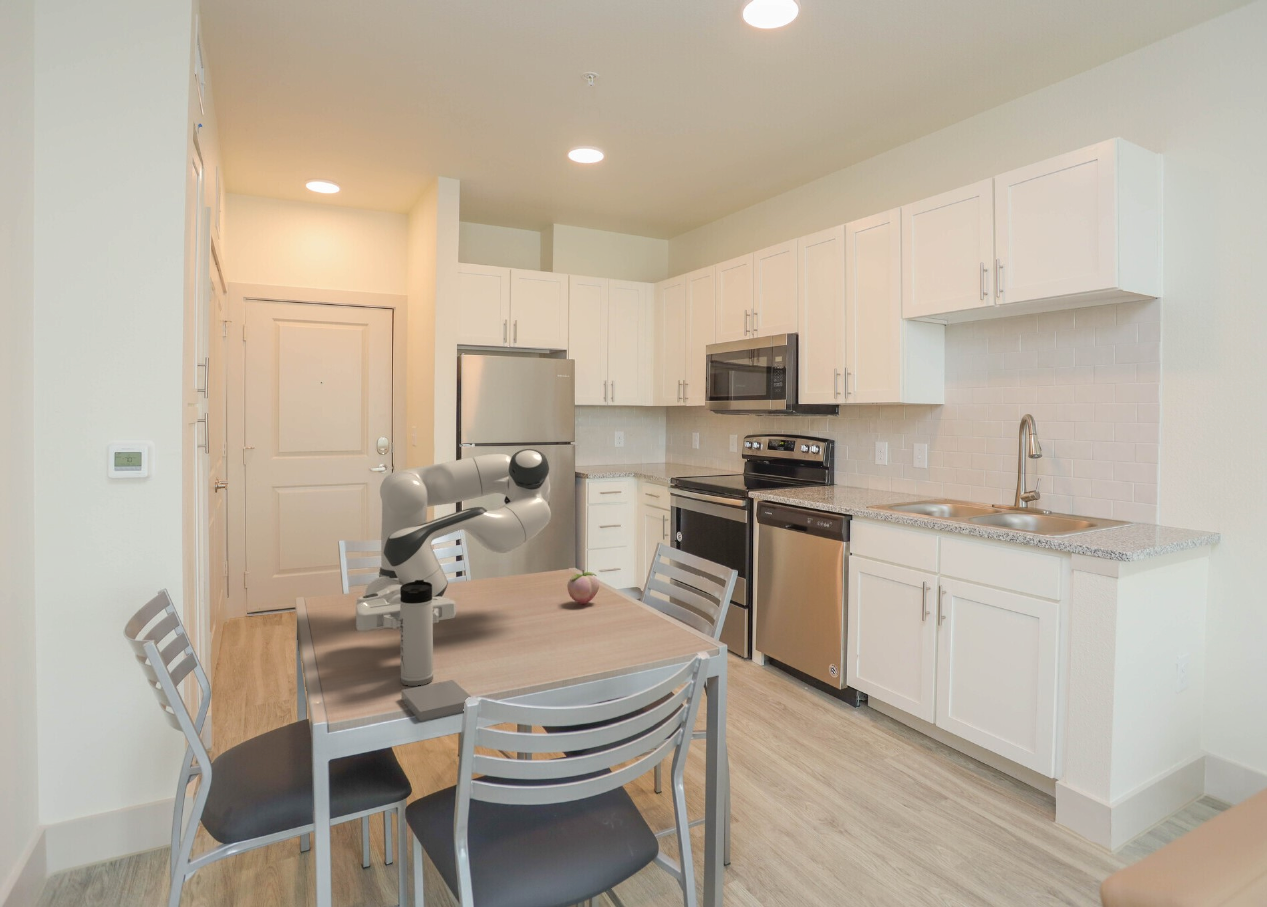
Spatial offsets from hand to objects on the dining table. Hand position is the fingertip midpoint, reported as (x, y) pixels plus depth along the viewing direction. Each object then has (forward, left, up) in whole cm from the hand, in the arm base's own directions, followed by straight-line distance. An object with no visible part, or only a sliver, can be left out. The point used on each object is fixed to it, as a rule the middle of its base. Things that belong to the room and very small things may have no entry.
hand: (416, 621), depth 145 cm
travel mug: (0, 0, -12) cm, 12 cm away
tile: (+8, 0, -12) cm, 14 cm away
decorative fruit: (-36, +58, -12) cm, 69 cm away
